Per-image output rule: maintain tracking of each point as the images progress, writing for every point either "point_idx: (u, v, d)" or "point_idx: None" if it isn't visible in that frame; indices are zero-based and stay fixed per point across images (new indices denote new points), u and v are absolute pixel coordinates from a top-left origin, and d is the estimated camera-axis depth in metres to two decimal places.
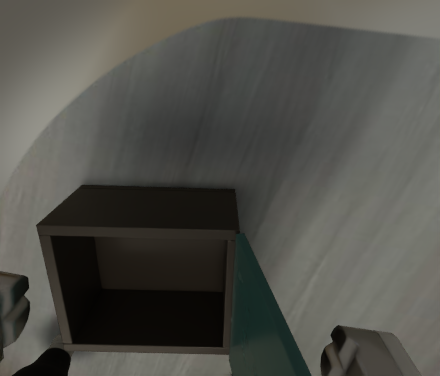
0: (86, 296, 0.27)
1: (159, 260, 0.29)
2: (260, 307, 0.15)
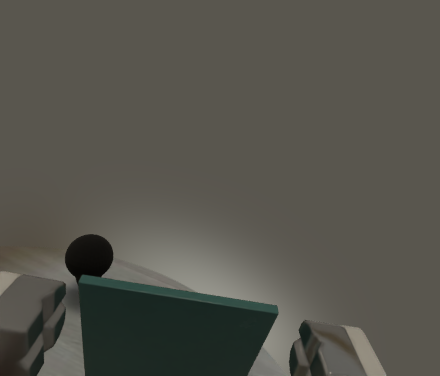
0: None
1: None
2: None
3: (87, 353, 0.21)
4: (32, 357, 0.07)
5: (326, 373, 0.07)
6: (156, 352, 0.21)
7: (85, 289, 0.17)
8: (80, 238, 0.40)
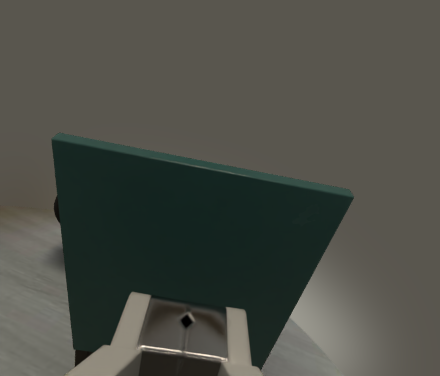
0: None
1: None
2: None
3: (71, 276, 0.15)
4: None
5: (182, 352, 0.06)
6: (168, 273, 0.15)
7: (63, 153, 0.11)
8: None
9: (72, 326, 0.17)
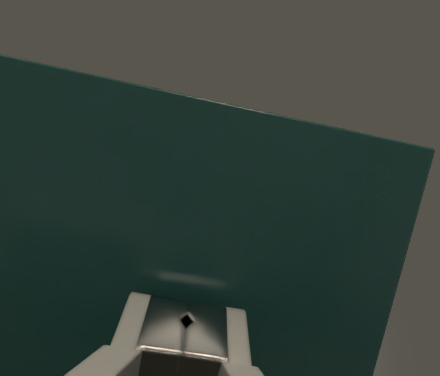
0: None
1: None
2: None
3: None
4: None
5: (182, 352, 0.06)
6: None
7: (6, 77, 0.07)
8: None
9: None
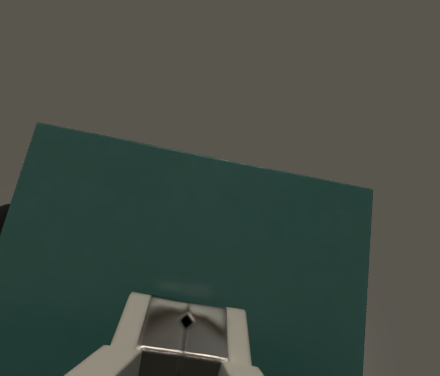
0: None
1: None
2: None
3: None
4: None
5: (182, 352, 0.06)
6: None
7: (44, 138, 0.10)
8: None
9: None
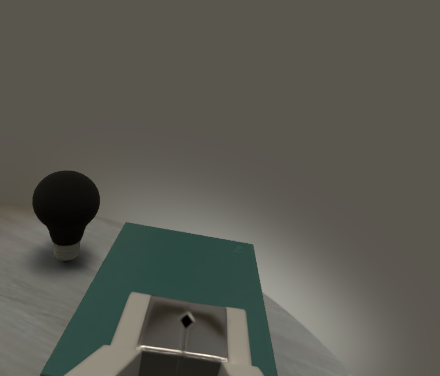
0: None
1: None
2: None
3: (99, 277, 0.20)
4: None
5: (182, 352, 0.06)
6: (171, 275, 0.22)
7: (128, 225, 0.27)
8: (53, 173, 0.29)
9: (66, 330, 0.16)
